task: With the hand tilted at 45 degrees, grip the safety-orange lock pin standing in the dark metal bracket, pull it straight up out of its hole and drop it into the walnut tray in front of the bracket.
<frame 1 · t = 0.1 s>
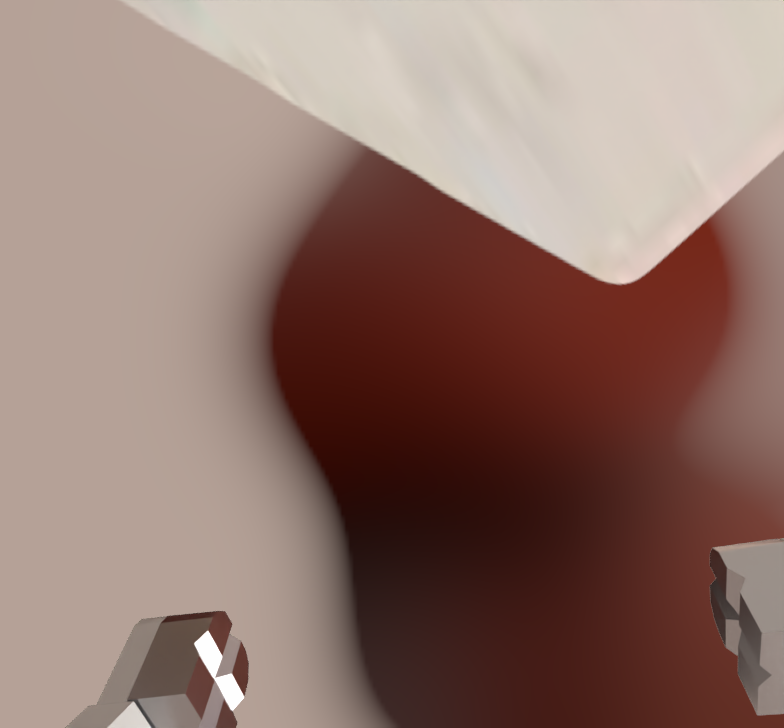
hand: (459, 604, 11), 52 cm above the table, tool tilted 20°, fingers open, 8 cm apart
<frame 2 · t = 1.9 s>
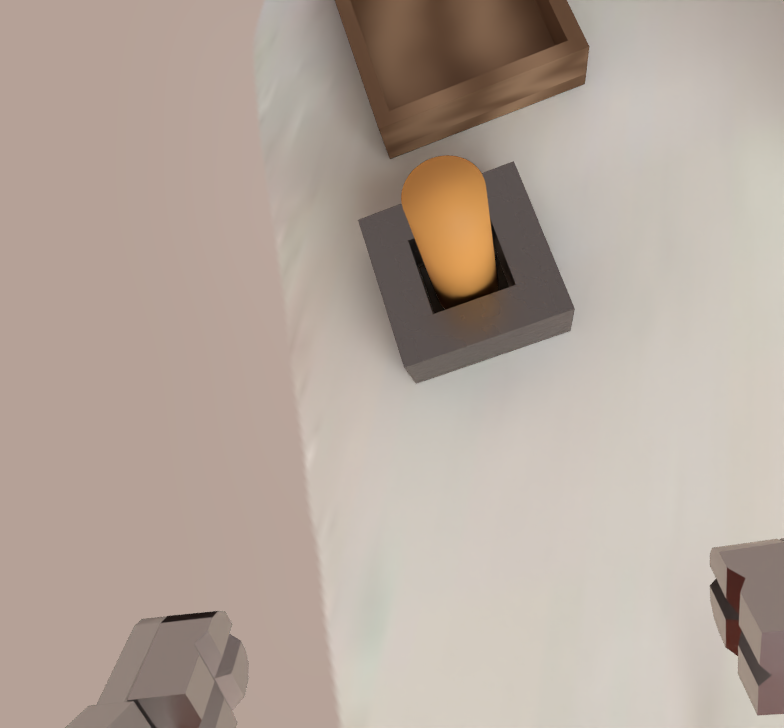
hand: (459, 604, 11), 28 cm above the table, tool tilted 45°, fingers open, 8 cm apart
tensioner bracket: (466, 287, 42), on the table
lock pin: (456, 247, 36), in the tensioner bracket
walnut tray: (449, 33, 47), on the table
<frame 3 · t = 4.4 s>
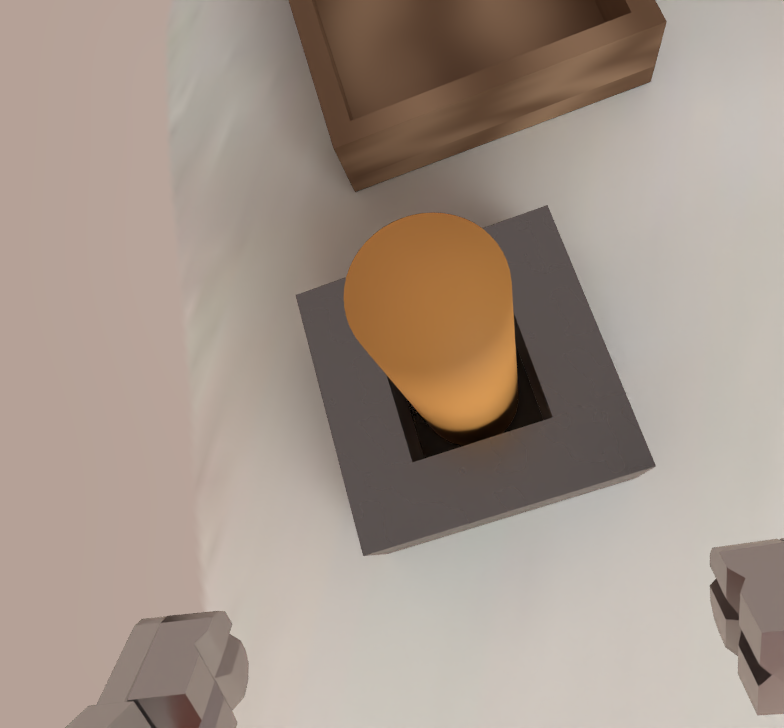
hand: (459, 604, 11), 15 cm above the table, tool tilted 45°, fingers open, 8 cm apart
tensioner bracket: (469, 396, 27), on the table
lock pin: (453, 357, 21), in the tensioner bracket
walnut tray: (446, 7, 32), on the table
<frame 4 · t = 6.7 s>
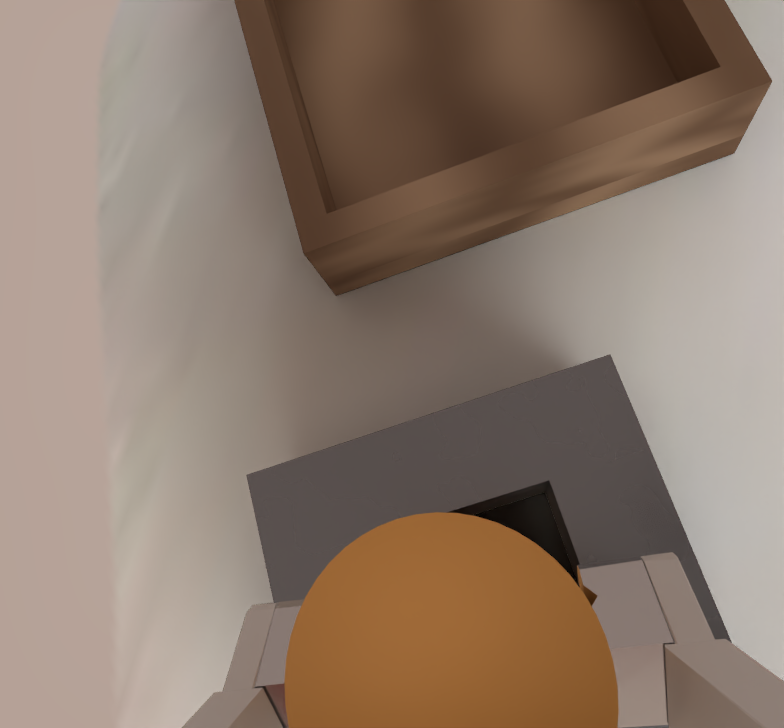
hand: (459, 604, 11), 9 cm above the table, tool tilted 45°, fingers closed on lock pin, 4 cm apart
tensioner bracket: (492, 600, 19), on the table
lock pin: (478, 624, 13), in the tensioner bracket, touching gripper
walnut tray: (455, 48, 24), on the table
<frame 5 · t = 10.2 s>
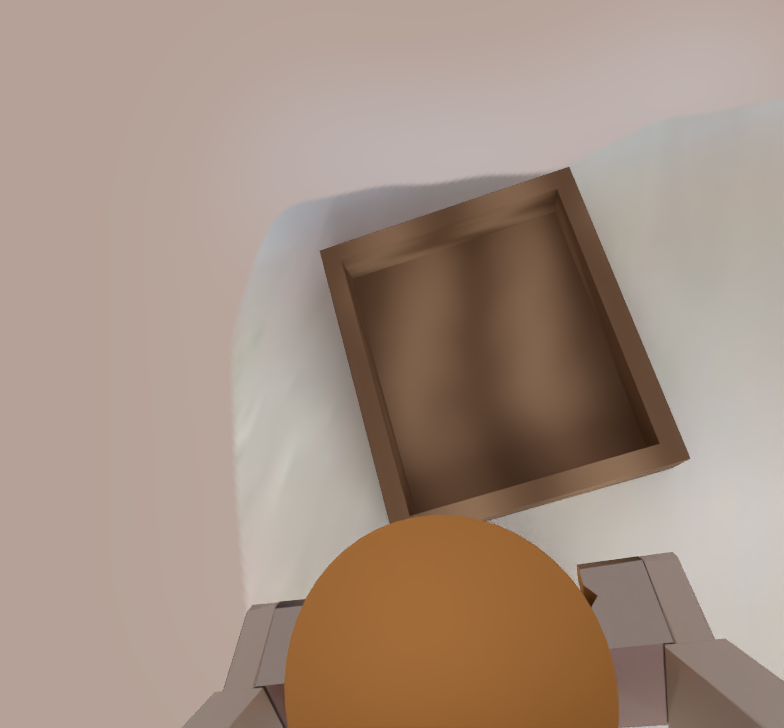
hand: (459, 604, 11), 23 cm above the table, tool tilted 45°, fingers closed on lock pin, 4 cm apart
lock pin: (478, 625, 13), point 20 cm above the table, touching gripper
walnut tray: (489, 363, 36), on the table
when the fingers open (11 cm above the table, at t = 13.5 s): lock pin drops 1 cm, resting on walnut tray.
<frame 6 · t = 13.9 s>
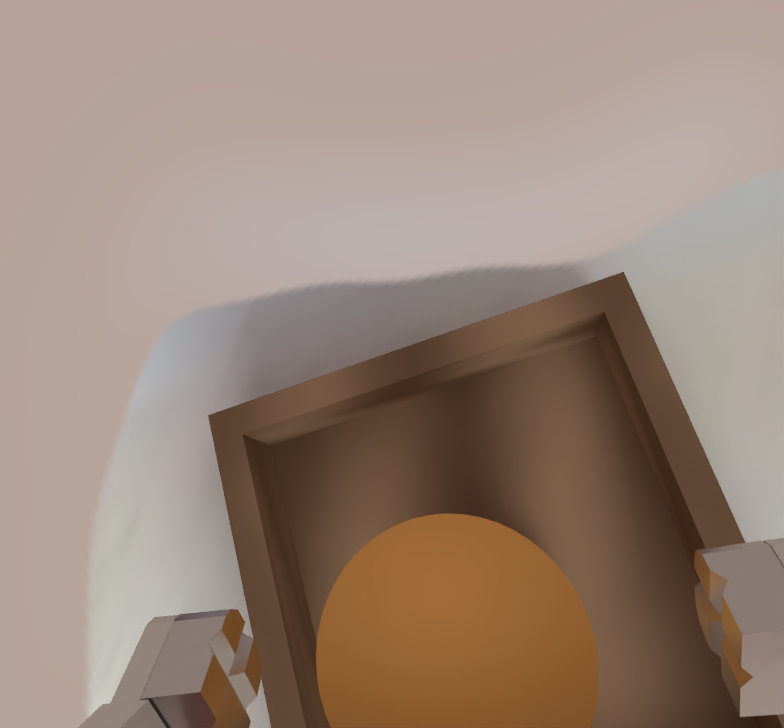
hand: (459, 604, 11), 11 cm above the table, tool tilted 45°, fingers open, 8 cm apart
lock pin: (481, 615, 15), in the walnut tray, point 7 cm above the table
walnut tray: (495, 594, 21), on the table
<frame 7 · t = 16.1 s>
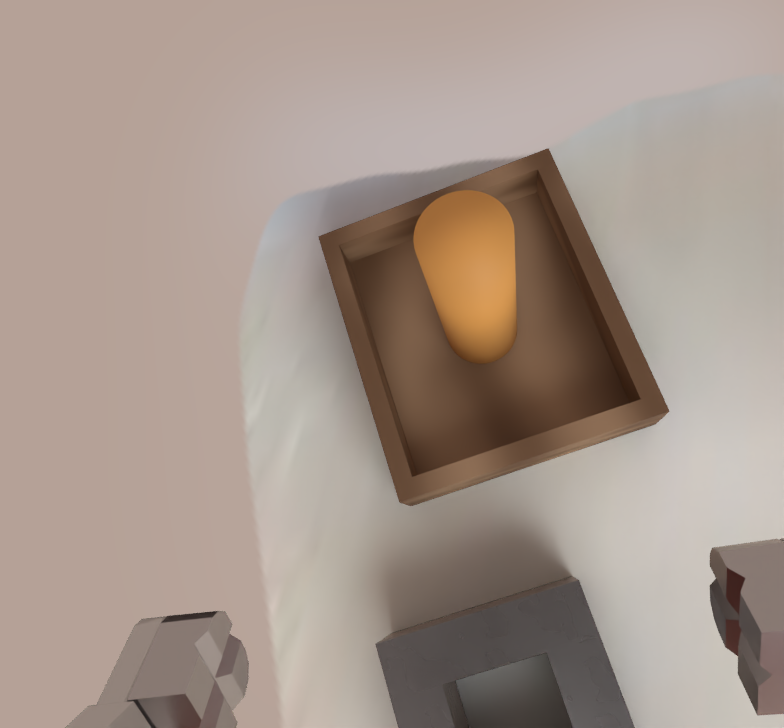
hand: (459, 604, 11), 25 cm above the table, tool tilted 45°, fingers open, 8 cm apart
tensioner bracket: (514, 706, 32), on the table
lock pin: (474, 291, 31), in the walnut tray, point 7 cm above the table
walnut tray: (481, 335, 38), on the table
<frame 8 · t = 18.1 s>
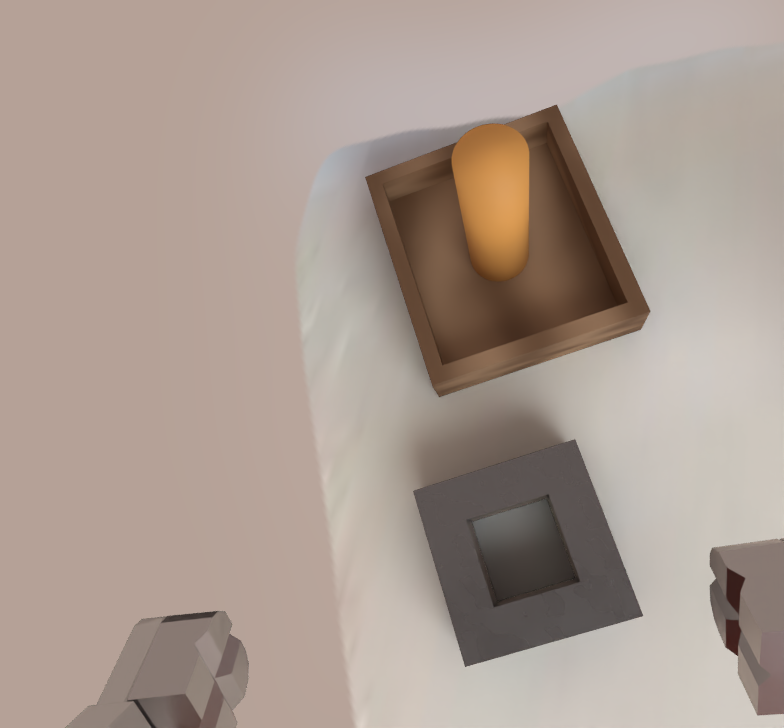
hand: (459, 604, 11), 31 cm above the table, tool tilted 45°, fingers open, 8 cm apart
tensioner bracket: (522, 549, 40), on the table
lock pin: (495, 213, 39), in the walnut tray, point 7 cm above the table
walnut tray: (499, 261, 46), on the table
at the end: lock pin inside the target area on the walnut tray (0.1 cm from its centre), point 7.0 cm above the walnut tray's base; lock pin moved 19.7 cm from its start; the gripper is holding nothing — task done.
